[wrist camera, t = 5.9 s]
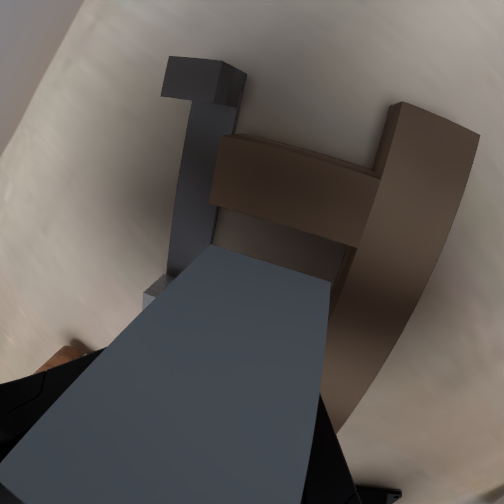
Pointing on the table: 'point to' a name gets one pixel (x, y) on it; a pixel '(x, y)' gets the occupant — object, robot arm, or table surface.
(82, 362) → the robot arm
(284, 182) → the mount
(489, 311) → the table surface
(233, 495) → the slate blue cuboid
